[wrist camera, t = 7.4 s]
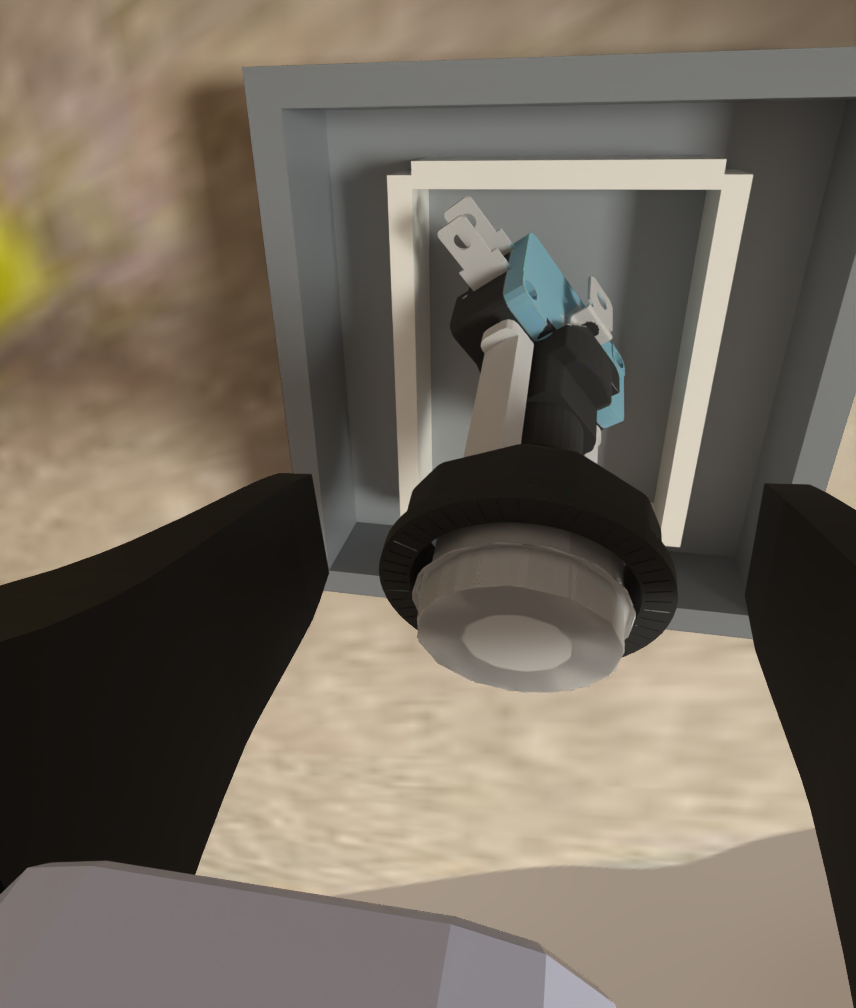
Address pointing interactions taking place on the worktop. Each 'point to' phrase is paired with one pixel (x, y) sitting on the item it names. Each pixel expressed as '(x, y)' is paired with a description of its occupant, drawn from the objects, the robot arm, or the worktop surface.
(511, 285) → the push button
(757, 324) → the grey square tray
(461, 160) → the cream rectangular frame
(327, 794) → the worktop surface
